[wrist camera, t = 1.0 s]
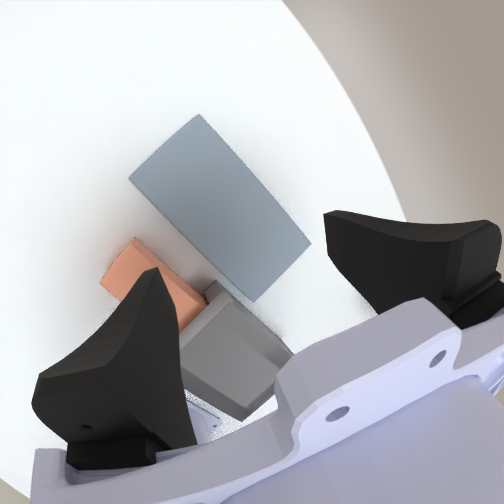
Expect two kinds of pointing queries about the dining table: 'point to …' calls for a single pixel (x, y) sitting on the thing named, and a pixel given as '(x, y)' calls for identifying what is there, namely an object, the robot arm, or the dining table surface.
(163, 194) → the slate mat
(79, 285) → the dining table surface
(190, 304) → the bar
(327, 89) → the dining table surface
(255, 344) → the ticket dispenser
